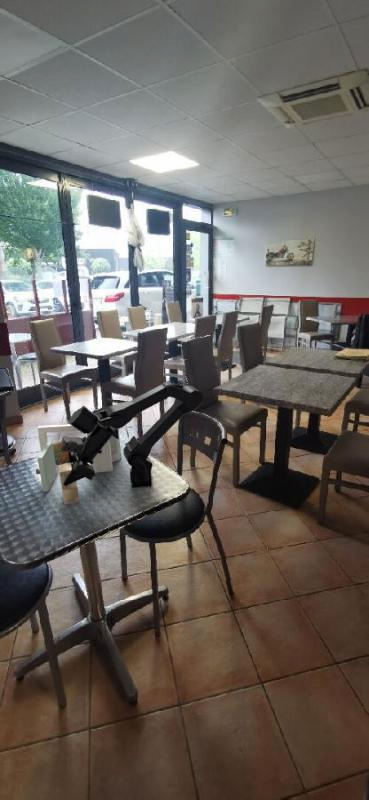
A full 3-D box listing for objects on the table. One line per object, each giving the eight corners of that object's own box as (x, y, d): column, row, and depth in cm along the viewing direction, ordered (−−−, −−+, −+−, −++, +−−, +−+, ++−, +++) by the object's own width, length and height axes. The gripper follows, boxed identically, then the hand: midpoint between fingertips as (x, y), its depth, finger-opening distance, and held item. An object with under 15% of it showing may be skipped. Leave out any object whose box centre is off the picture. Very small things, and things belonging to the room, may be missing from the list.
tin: (51, 468, 144) (47, 447, 141) (47, 465, 146) (44, 445, 143) (88, 455, 153) (85, 435, 150) (84, 452, 155) (81, 432, 153)
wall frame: (112, 468, 142) (107, 421, 136) (112, 471, 140) (106, 424, 134) (47, 472, 141) (39, 425, 135) (45, 476, 139) (37, 428, 133)
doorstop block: (77, 493, 127) (72, 462, 124) (79, 501, 123) (74, 469, 119) (62, 496, 126) (57, 465, 122) (64, 504, 121) (59, 472, 118)
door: (47, 491, 128) (42, 457, 124) (38, 491, 128) (32, 458, 124) (57, 472, 139) (52, 441, 136) (48, 473, 139) (43, 442, 135)
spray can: (125, 456, 150) (120, 407, 144) (113, 464, 145) (107, 413, 139) (111, 453, 154) (106, 404, 147) (99, 460, 148) (93, 410, 142)
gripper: (70, 417, 126) (39, 455, 126) (78, 439, 110) (42, 483, 110) (98, 435, 132) (68, 472, 131) (109, 458, 115) (75, 500, 115)
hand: (63, 480), depth 122 cm, fingers closed on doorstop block, 5 cm apart
